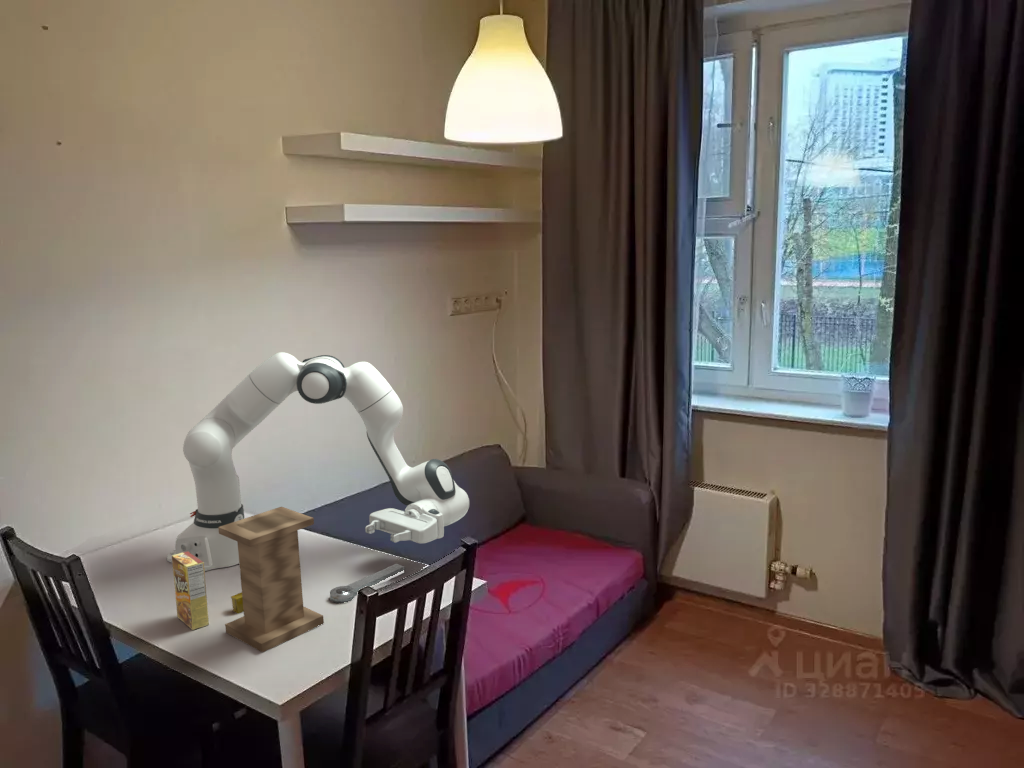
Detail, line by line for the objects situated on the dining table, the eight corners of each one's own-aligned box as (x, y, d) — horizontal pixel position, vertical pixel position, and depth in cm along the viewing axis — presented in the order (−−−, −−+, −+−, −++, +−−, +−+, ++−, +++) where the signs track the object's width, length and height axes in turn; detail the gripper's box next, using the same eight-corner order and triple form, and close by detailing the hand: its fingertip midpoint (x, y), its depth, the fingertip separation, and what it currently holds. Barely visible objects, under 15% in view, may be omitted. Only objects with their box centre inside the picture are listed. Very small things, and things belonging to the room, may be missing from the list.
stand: (286, 606, 197) (278, 505, 192) (323, 623, 189) (316, 518, 184) (226, 632, 185) (215, 526, 180) (262, 652, 177) (252, 541, 172)
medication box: (277, 593, 204) (275, 578, 204) (283, 597, 203) (282, 581, 202) (231, 611, 196) (230, 595, 195) (237, 614, 194) (236, 598, 193)
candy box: (176, 617, 193) (169, 555, 190) (194, 611, 196) (188, 550, 193) (192, 631, 186) (185, 566, 183) (210, 624, 189) (204, 561, 186)
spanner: (393, 569, 217) (393, 561, 217) (408, 575, 214) (407, 567, 213) (325, 599, 201) (325, 591, 200) (340, 606, 197) (339, 598, 197)
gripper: (392, 499, 224) (352, 513, 214) (447, 515, 211) (406, 531, 201) (393, 521, 225) (353, 537, 215) (448, 538, 212) (407, 556, 202)
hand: (379, 534), depth 208 cm, fingers open, 8 cm apart
